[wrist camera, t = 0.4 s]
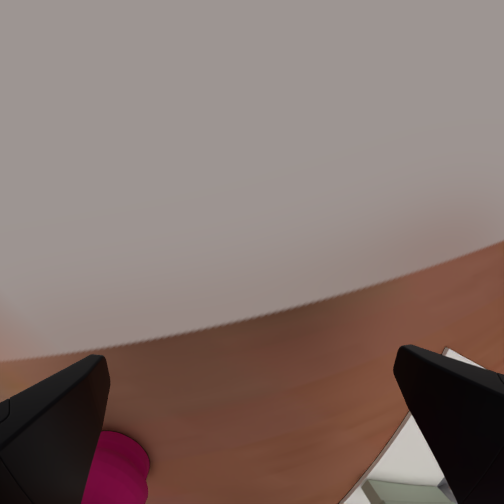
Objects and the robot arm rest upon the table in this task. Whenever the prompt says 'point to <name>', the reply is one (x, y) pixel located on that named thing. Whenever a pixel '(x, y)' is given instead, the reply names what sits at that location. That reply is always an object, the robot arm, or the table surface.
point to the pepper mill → (117, 472)
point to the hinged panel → (402, 493)
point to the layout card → (406, 459)
